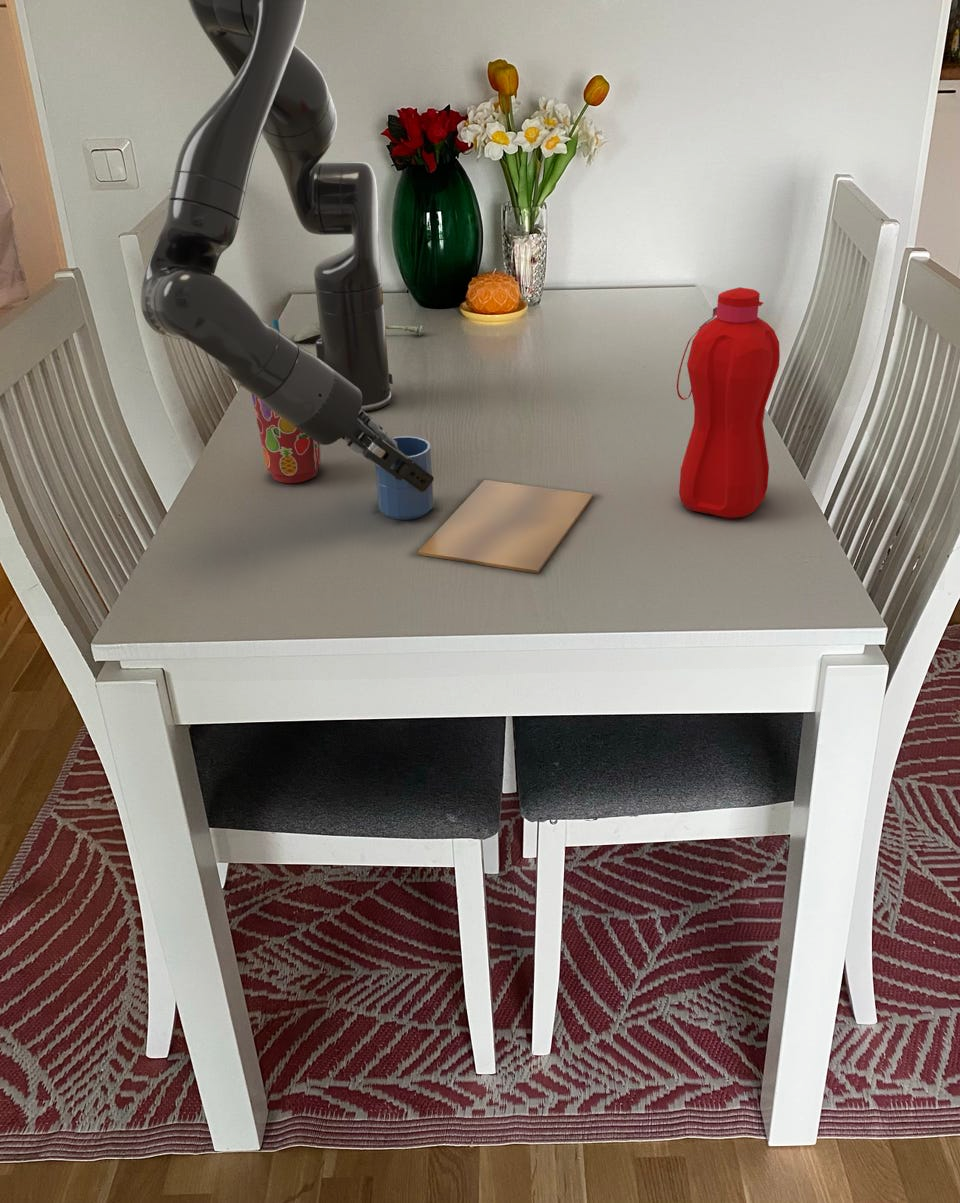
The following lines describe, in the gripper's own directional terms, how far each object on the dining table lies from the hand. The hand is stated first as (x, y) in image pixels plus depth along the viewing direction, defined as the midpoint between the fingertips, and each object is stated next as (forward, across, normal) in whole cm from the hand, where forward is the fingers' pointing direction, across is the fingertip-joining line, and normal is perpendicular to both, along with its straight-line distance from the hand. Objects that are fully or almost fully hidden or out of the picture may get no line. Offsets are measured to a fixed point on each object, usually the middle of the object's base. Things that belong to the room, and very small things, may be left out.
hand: (417, 473), depth 135 cm
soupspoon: (+13, +67, -7) cm, 69 cm away
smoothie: (-4, +16, +11) cm, 20 cm away
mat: (+9, -9, -2) cm, 13 cm away
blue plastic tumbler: (+2, 0, +4) cm, 5 cm away
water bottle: (+26, -15, -19) cm, 35 cm away
